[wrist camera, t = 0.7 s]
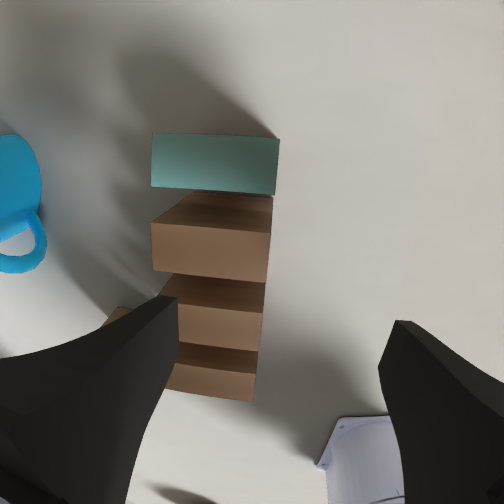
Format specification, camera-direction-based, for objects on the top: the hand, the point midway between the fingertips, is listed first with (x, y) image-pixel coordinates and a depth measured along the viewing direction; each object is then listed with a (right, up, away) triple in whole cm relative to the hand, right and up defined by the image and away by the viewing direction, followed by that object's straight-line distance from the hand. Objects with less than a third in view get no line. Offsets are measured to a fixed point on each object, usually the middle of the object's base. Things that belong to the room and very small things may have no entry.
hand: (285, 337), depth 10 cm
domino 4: (-3, -1, +11) cm, 11 cm away
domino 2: (-2, +5, +9) cm, 10 cm away
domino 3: (-3, +2, +10) cm, 10 cm away
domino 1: (-2, +8, +8) cm, 11 cm away
